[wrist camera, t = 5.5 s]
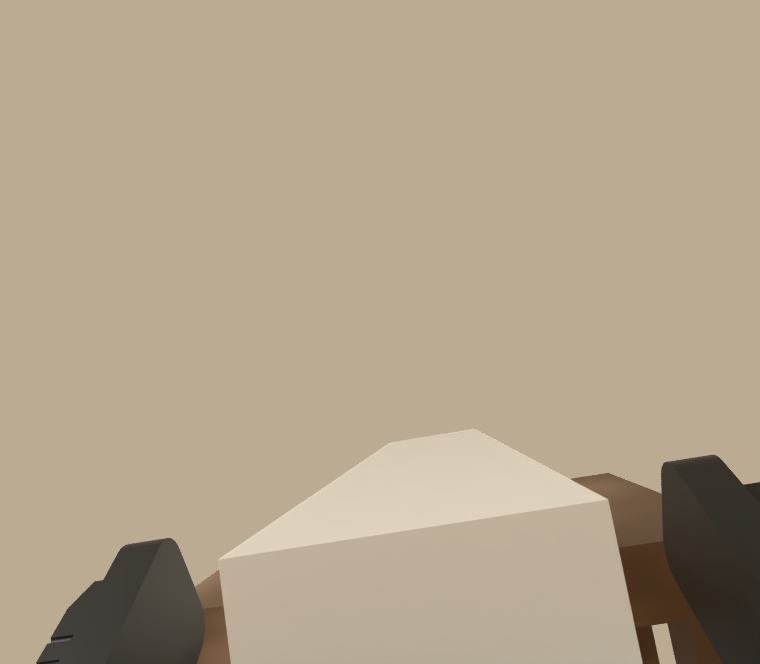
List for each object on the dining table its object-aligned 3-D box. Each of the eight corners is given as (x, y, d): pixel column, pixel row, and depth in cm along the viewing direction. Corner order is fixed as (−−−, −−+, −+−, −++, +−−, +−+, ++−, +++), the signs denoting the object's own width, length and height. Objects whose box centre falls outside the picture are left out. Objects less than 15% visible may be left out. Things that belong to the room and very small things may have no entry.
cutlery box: (253, 839, 7) (217, 559, 7) (399, 500, 33) (389, 442, 33) (669, 789, 7) (607, 499, 7) (485, 486, 32) (474, 428, 33)
